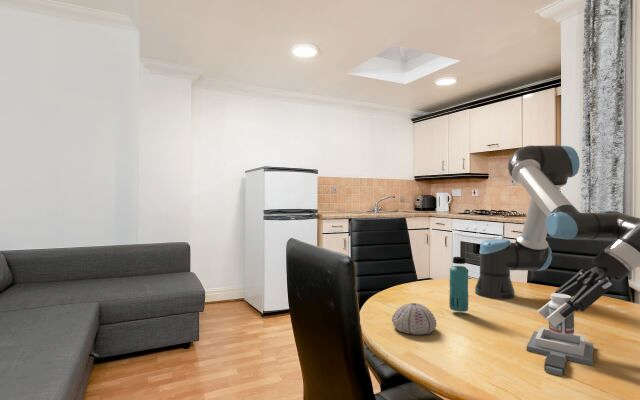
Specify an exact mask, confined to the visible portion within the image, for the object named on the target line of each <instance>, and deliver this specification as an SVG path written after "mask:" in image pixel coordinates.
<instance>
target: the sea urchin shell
mask: <svg viewBox="0 0 640 400" xmlns="http://www.w3.org/2000/svg"><path fill="white" fill-rule="evenodd" d="M391 322H392V325H393V327H394V329H396V330H397V331H399V332H401V333H405V334H407V335H410V334H411V335H415V336H416V335H419V336H424V335H429V334H432V333H433V332H434V331H435V330H436V327H437V320H436V317H435V316H434V313H432V311H431V310H430V309H429V308H428V307H427V306H425V305H423V304H421V303H417V302H409V303H407V304H402V306H399V307H398V308H397V309H396V310H395V311H394V313H393V315H392V317H391Z"/></svg>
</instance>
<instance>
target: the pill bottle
mask: <svg viewBox="0 0 640 400" xmlns="http://www.w3.org/2000/svg"><path fill="white" fill-rule="evenodd" d="M572 298H573V297H572ZM572 298H571V296H569V295H566V294H559V293H555V292H554V293H550V299H551V300H552V302H550V303H549V315H550V314H552V313H553V312H554V311H555V310H557V309H558V308H559V307H560V306H562V305H563V304H564V303H565V302H566V300H571V299H572ZM566 303H567V302H566ZM567 304H568V303H567ZM568 305H569V304H568ZM548 329H549V330H550V331H551V332H553V333H555V334H559V335H565V336H570V335H573V334H575V311H574V312H573V313H572V314H571V315H569V316H568V317H567V318H566V319H564V320H563V321H562V322H561V323H560V324H558V325H557V326H556V327H554V326H553V325H552V324H551V323H550V322H549V321H548Z"/></svg>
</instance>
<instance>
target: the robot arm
mask: <svg viewBox="0 0 640 400" xmlns="http://www.w3.org/2000/svg"><path fill="white" fill-rule="evenodd" d="M579 157H580V156H579V154H578V153H577V151H576V150H575V148H574V147H572V146H568V145H560V144H557V145H555V144H554V145H550V144H549V145H526V146H522V147H520V148H519V149H517V150H515V151H514V152H513V153H512V154H511V156H510V158H509V159H508V164H507V169H508V173H509V175H510V177H512V179H513V180H514V181H515V182H516V183H519V184H521V186H522V187H523V188H524V189H525V191H526V192H527V193H528V194H529V196H530V199H529V200H530V201H529V204H528V209H527V212H526V216H525V220H524V224H523V228H522V232H521V234H518V235H517V236H516V240H515V242H511V240H510V239H508V238H495V239H487V240H483V241H482V242H481V243H480V245H479V246H480V247H479V276H478V280H477V282H476V285H475V288H474V289H475V290H474V292H475V294H476V295H478V296H481V297H484V298H490V299H498V300H510V299H514V298H515V297H516V295H515V294H516V292H515V289H514V286H513V283H512V280H511V271H529V272H530V271H531V272H537V271H545V270H546V269H548V267H549V266H550V265H551V262H552V259H553V255H552V254H553V253H552V249H551V247H550V245H549V243H548V241H547V240H546V238H547V235H549V236H550V237H551V238H554V239H563V240H609V241H610V240H613V242H611V243H610V244H609V245H608V246H607V247H605V248H604V249H603V250H604V252H603V251H602V252H599V253H598V254H597V255H596V256H595V257H593V258H592V260H591V262H592V264H593V267H591V268H590V269H587V270H586V271H585V270H584V269H580V270H579V271H578V272H577V273H576V274H575V275H574V276H572V278H570V279H569V280H568V281H566V282H565V283H564V284H562V285H561V286H559V288H557V289H556V290H555V292H554V293H559V294H566V295H569V296H571V298H572V299H571V300H566V302H567V303H568V304H569V305H568V304H567V303H566V302H565V303H564V304H563V305H562V306H560V307H559V308H558V309H557V310H555V311H554V312H553V313H552V314H550V315H549V303H550V302H552V300H549V301H548V302H547V303H546V304H545V305H543V306H542V307H540V308H539V309H538V310H537V313H539V314H540V315H541V316H542V318H544V319H545V320H546V321H548V323H549V322H550V323H551V324H552V325H553V326H554V327H556V326H557V325H558V324H560V323H561V322H562V321H563V320H564V319H566V318H567V317H568V316H569V315H571V314H572V313H573V312H574V313H575V312H578V311H580V312H584V311H586V310H587V309H588V308H589V307H591V306H592V305H593V304H594V303H596V301H598V300H599V299H600V298H602V297H603V295H605V293H607V292H608V291H611V290H613V289H614V288H615V285H614V284H613V283H612V282H611V281H614V282H620V281H622V280H623V279H625V278H626V277H627V276H629V274H630V271H631V272H633V271H634V270H636V269H637V268H640V217H636V216H632V215H629V214H625V213H622V212H620V211H617V210H616V211H612V210H603V211H600V212H580V211H579V210H578V208H576V207H575V206H574V205H573V203H571V202H570V200H569V199H568V198H567V197H566V196H565V195H564V194H563V193H562V191H561V188H562V187H563V186H566V185H567V183H568V180H569V178H572V177H575V176H576V175H577V174H578V173H579V170H580V158H579Z"/></svg>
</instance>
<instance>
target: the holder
mask: <svg viewBox="0 0 640 400" xmlns="http://www.w3.org/2000/svg"><path fill="white" fill-rule="evenodd" d="M526 351H527V352H530V353H531V352H532V353H535V354H540V355H544V356H546V359H545V360H544V371H545V373H548V374H552V375H555V376H560V377H562V376H564V375H565V372H566V366H567V361H570V362H575V363H578V364H582V365H586V366H593V363H594V362H593V361H594V360H593V359H594V343H593V342H590V341H586V336H585V335H581V334H575V333H574V334H573V335H570V336H565V335H559V334H555V333H553V332H551V331H550V330H549V328H546V327H541V326H540V327H539V329H538V330H537V331H533V333H532V335H531V337H530V339H529V341H528V342H527V345H526Z"/></svg>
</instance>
